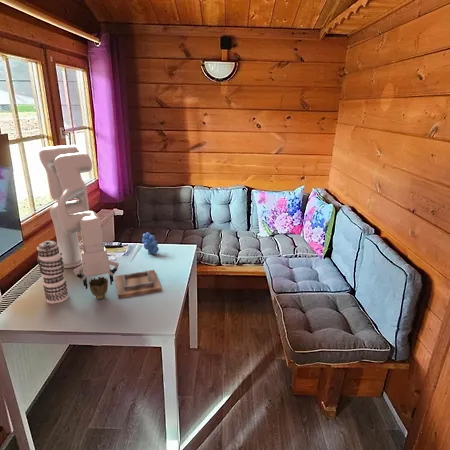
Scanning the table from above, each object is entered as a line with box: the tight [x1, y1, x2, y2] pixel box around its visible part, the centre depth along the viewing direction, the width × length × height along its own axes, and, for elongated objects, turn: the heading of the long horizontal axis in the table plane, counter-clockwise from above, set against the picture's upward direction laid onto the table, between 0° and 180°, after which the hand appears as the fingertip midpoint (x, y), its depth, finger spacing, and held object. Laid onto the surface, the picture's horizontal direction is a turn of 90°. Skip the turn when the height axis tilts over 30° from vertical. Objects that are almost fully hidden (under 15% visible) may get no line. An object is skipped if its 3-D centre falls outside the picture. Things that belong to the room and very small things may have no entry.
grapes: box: [141, 231, 160, 255], centre depth 187 cm, size 12×7×12 cm, turn 54°
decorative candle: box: [36, 240, 69, 305], centre depth 143 cm, size 9×9×25 cm
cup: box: [88, 276, 109, 300], centre depth 146 cm, size 8×7×8 cm
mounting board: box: [114, 269, 162, 299], centre depth 158 cm, size 18×18×3 cm
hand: (99, 285), depth 145 cm, fingers open, 9 cm apart
